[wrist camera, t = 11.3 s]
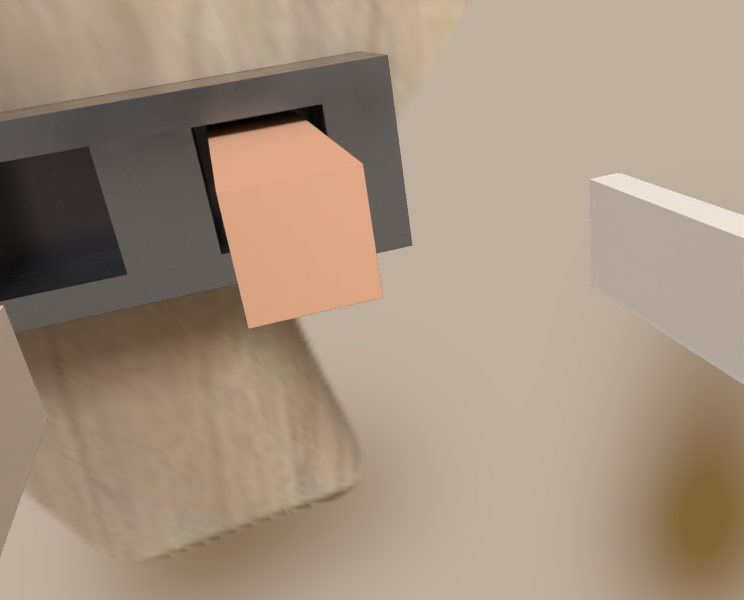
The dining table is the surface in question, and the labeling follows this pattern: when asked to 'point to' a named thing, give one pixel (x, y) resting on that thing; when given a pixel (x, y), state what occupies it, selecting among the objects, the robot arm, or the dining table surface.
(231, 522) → the dining table surface
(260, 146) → the terracotta peg
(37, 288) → the grey peg hole block
